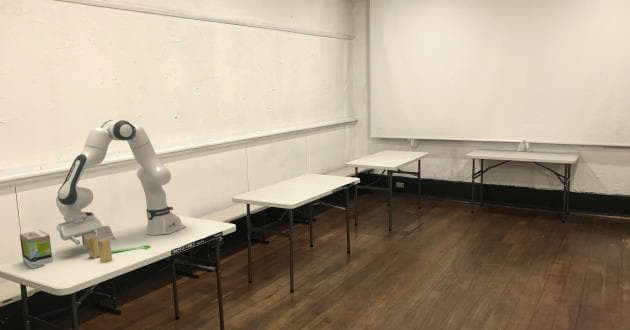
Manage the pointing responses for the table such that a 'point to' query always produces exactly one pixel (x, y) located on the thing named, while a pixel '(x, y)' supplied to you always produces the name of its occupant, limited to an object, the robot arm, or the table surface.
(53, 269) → the table surface
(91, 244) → the wooden block
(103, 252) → the tan wooden block
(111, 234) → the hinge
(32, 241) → the tea box
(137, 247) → the wrench
